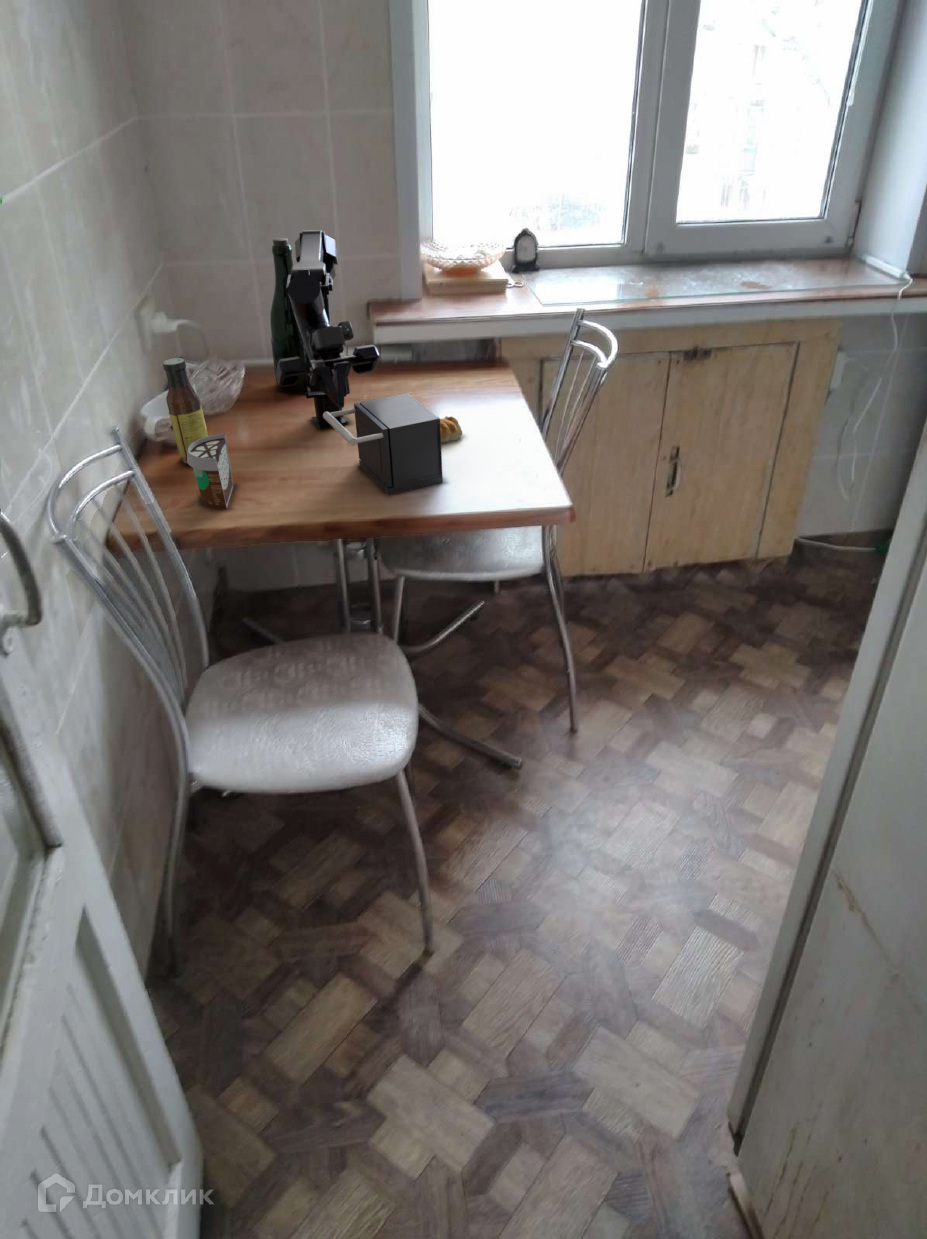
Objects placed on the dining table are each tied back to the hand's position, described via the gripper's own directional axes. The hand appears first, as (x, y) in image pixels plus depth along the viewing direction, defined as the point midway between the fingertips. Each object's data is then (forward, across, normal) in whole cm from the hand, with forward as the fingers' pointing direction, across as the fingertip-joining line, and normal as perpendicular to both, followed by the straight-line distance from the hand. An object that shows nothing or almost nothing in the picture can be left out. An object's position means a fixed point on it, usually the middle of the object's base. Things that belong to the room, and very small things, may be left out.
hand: (341, 407), depth 165 cm
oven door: (+12, 0, +5) cm, 13 cm away
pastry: (+4, +22, +14) cm, 27 cm away
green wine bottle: (-28, +6, +46) cm, 54 cm away
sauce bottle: (-5, -25, +24) cm, 35 cm away
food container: (+8, -26, +11) cm, 29 cm away
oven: (+13, +8, +6) cm, 16 cm away
